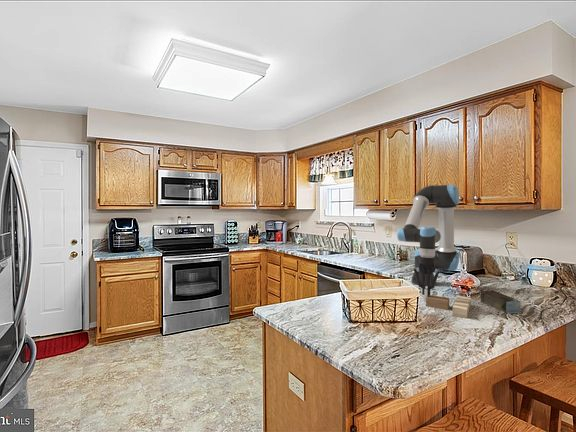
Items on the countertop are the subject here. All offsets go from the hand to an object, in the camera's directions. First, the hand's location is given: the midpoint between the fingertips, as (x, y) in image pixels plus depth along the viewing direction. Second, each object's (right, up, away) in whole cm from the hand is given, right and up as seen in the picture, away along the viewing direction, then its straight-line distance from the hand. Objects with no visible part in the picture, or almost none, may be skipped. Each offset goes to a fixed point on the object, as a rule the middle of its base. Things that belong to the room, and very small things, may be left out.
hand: (426, 301), depth 176 cm
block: (+4, -2, -4) cm, 6 cm away
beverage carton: (+36, -2, -4) cm, 36 cm away
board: (+14, -2, -10) cm, 17 cm away
